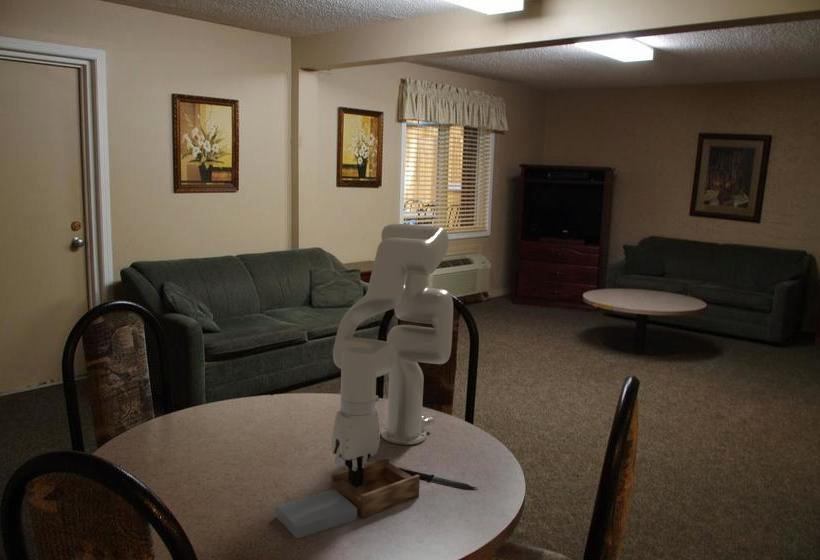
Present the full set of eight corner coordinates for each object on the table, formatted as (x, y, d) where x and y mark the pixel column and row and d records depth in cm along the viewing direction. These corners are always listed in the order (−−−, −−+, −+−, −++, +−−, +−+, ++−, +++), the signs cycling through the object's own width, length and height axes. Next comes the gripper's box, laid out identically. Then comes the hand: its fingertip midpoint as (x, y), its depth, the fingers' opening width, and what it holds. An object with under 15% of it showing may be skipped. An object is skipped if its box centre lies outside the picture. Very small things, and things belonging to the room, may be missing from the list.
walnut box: (386, 476, 156) (386, 456, 156) (418, 497, 148) (419, 475, 147) (330, 496, 146) (331, 474, 145) (362, 519, 137) (362, 496, 136)
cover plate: (334, 501, 145) (334, 488, 145) (356, 521, 137) (357, 508, 137) (276, 518, 137) (276, 505, 136) (296, 540, 129) (297, 527, 129)
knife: (395, 471, 158) (399, 465, 161) (395, 476, 158) (399, 470, 161) (476, 489, 150) (480, 483, 153) (476, 495, 151) (480, 488, 153)
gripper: (375, 393, 147) (372, 468, 150) (318, 407, 137) (317, 487, 141) (395, 403, 141) (392, 481, 145) (338, 418, 132) (336, 501, 135)
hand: (355, 483), depth 143 cm, fingers closed
